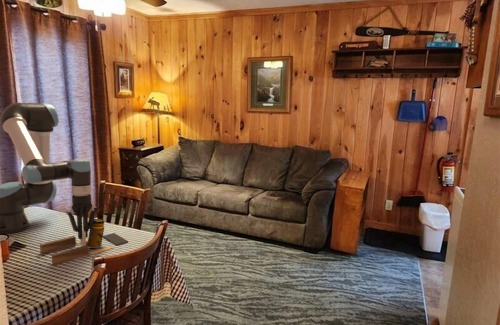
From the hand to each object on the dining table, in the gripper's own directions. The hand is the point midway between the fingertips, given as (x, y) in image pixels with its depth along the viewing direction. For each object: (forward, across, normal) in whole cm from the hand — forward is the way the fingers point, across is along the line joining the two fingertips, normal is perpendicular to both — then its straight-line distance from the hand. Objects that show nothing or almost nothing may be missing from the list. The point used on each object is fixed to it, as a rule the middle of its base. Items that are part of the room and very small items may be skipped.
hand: (83, 245), depth 150 cm
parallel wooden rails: (+2, -8, +1) cm, 8 cm away
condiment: (+2, +4, +1) cm, 5 cm away
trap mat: (+2, +16, +1) cm, 16 cm away
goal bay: (+2, +6, +1) cm, 6 cm away
